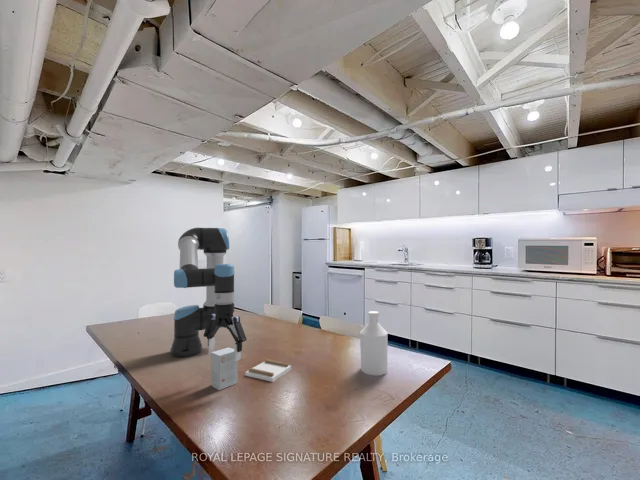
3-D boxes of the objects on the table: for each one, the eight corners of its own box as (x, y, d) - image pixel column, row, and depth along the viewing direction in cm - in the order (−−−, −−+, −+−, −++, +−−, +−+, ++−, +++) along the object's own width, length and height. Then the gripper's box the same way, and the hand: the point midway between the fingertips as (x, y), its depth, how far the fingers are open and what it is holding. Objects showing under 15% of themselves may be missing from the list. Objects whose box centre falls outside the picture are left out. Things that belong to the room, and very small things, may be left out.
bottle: (389, 366, 133) (388, 310, 134) (386, 377, 122) (385, 316, 122) (363, 363, 137) (362, 308, 137) (358, 373, 125) (357, 314, 126)
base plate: (245, 375, 124) (245, 369, 124) (265, 363, 137) (265, 358, 137) (272, 382, 118) (272, 375, 118) (291, 369, 131) (291, 363, 131)
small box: (228, 378, 121) (228, 346, 122) (237, 383, 117) (237, 350, 118) (210, 385, 115) (210, 352, 116) (219, 390, 111) (219, 355, 112)
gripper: (194, 302, 120) (194, 355, 119) (242, 306, 108) (242, 365, 107) (209, 299, 126) (208, 350, 125) (255, 303, 115) (255, 359, 114)
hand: (224, 357), depth 116 cm, fingers open, 13 cm apart
